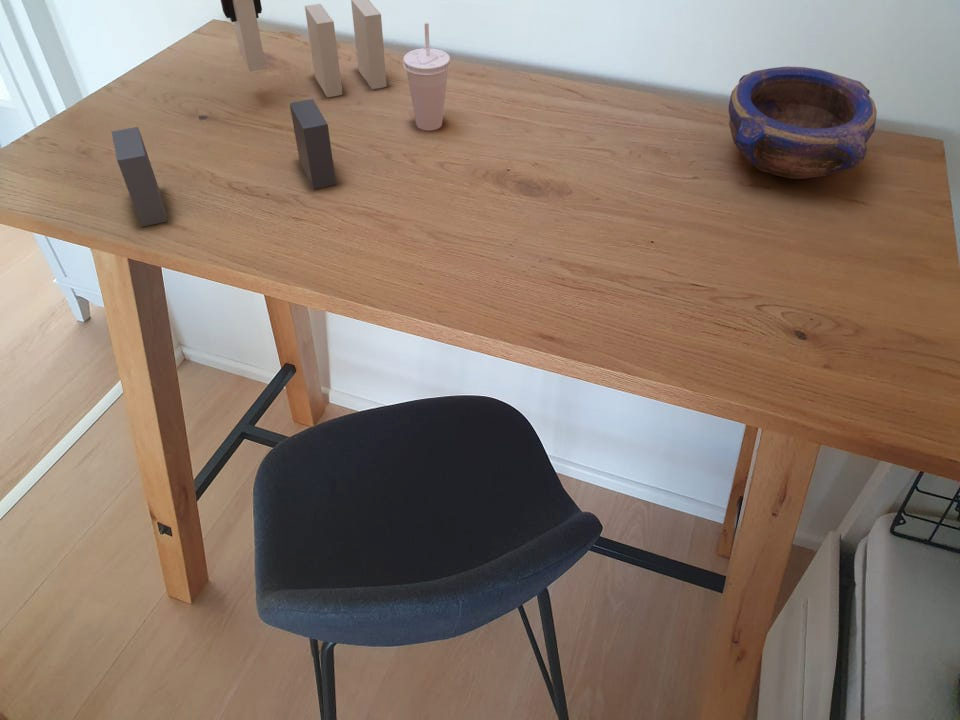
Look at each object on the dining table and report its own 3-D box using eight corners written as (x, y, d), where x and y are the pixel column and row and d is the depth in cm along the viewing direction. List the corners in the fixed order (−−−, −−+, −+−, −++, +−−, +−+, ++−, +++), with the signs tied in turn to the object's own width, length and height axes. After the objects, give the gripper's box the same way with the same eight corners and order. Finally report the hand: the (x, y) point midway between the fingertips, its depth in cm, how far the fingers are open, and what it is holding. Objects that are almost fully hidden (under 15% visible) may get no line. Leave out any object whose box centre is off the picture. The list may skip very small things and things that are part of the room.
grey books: (141, 227, 92) (117, 160, 85) (135, 196, 96) (111, 131, 90) (336, 184, 98) (327, 120, 92) (321, 158, 103) (312, 94, 96)
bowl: (706, 184, 99) (724, 113, 92) (725, 121, 111) (742, 53, 104) (851, 213, 95) (882, 140, 88) (855, 144, 107) (882, 75, 100)
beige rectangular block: (249, 71, 108) (232, -10, 100) (239, 51, 112) (222, -28, 104) (266, 68, 109) (250, -13, 101) (256, 49, 113) (240, -30, 105)
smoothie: (456, 116, 111) (455, 18, 101) (444, 137, 107) (442, 37, 97) (414, 111, 112) (408, 13, 102) (401, 132, 108) (394, 32, 98)
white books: (327, 97, 115) (317, 23, 107) (315, 78, 119) (304, 5, 112) (386, 86, 118) (381, 13, 110) (372, 68, 122) (366, -4, 114)
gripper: (264, -139, 98) (287, 1, 111) (151, -128, 94) (188, 15, 107) (277, -124, 93) (300, 20, 106) (159, -112, 89) (197, 36, 102)
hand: (243, 17), depth 106 cm, fingers closed on beige rectangular block, 2 cm apart
